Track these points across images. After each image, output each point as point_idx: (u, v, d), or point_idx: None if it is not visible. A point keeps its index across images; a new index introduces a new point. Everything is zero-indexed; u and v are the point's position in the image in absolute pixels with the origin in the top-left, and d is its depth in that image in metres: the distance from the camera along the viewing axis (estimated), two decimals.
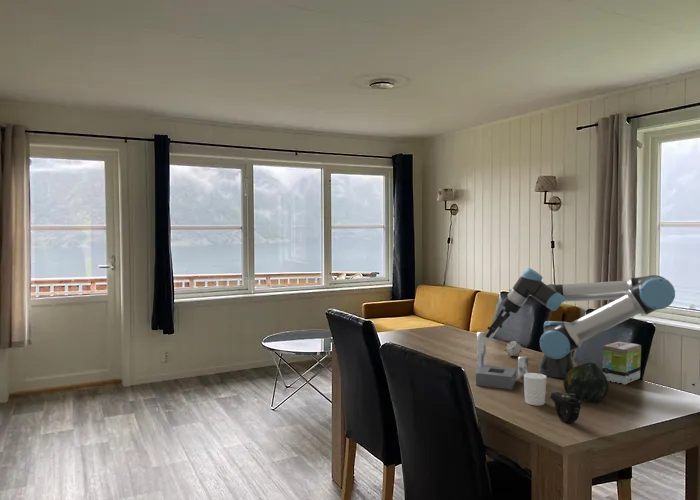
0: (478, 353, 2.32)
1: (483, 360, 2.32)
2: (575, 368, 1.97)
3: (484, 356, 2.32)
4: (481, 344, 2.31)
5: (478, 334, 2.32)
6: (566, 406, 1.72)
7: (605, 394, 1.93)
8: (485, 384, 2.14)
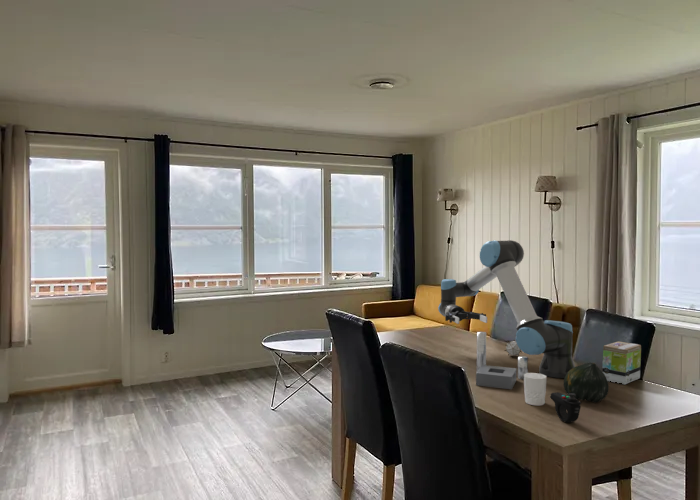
0: (478, 353, 2.32)
1: (483, 360, 2.32)
2: (575, 368, 1.97)
3: (484, 356, 2.32)
4: (481, 344, 2.31)
5: (478, 334, 2.32)
6: (566, 406, 1.72)
7: (605, 394, 1.93)
8: (485, 384, 2.14)
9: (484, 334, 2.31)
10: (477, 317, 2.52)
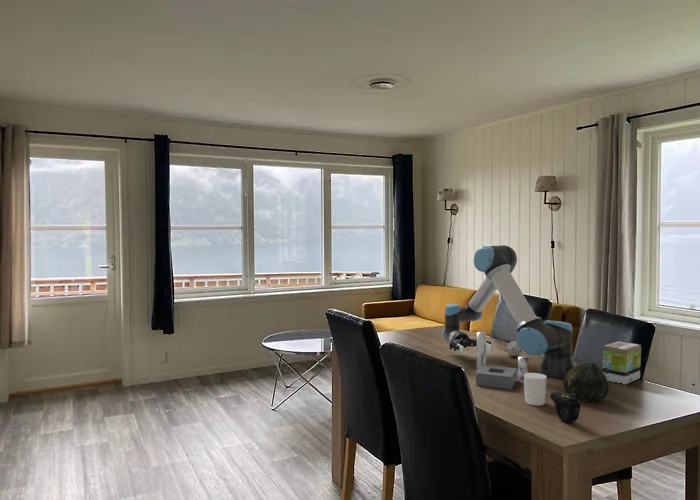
0: (478, 353, 2.32)
1: (483, 360, 2.32)
2: (575, 368, 1.97)
3: (484, 356, 2.32)
4: (481, 344, 2.31)
5: (478, 334, 2.32)
6: (566, 406, 1.72)
7: (605, 394, 1.93)
8: (485, 384, 2.14)
9: (484, 334, 2.31)
10: None
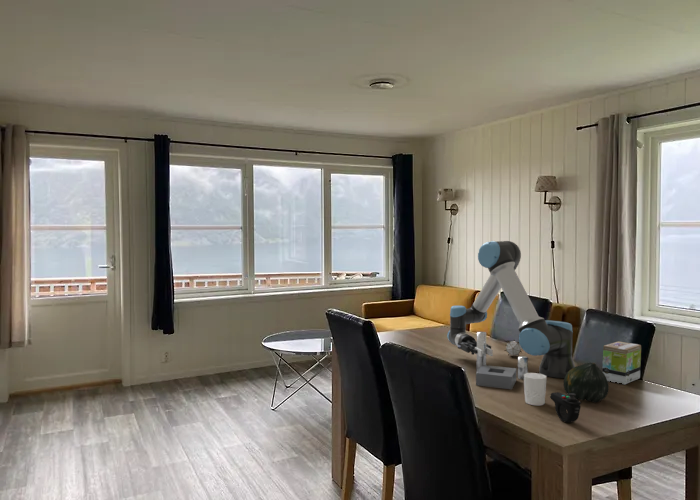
0: None
1: (483, 360, 2.32)
2: (575, 368, 1.97)
3: (484, 356, 2.32)
4: (481, 344, 2.31)
5: (478, 334, 2.32)
6: (566, 406, 1.72)
7: (605, 394, 1.93)
8: (485, 384, 2.14)
9: (484, 334, 2.31)
10: None
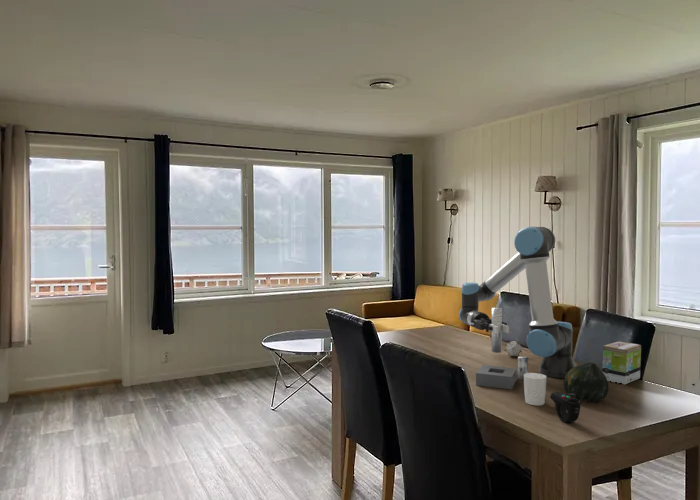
0: None
1: (498, 337, 2.17)
2: (575, 368, 1.97)
3: (500, 333, 2.17)
4: (496, 320, 2.16)
5: (493, 310, 2.17)
6: (566, 406, 1.72)
7: (605, 394, 1.93)
8: (485, 384, 2.14)
9: (500, 310, 2.16)
10: None
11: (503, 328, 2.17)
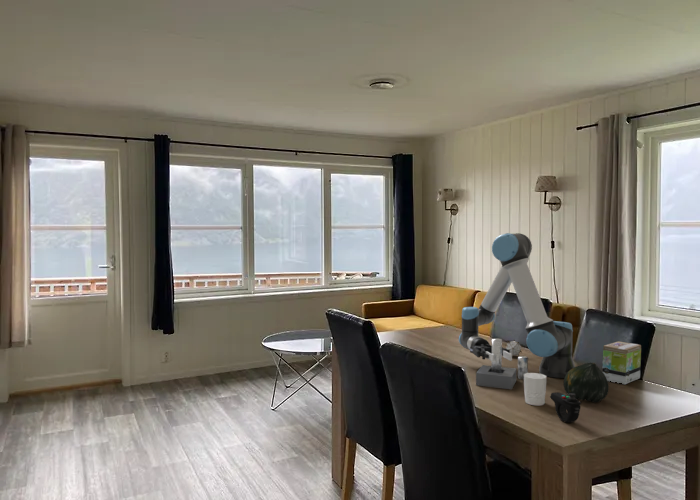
0: (493, 362, 2.18)
1: (498, 369, 2.17)
2: (575, 368, 1.97)
3: (500, 365, 2.17)
4: (496, 352, 2.17)
5: (493, 341, 2.17)
6: (566, 406, 1.72)
7: (605, 394, 1.93)
8: (485, 384, 2.14)
9: (500, 341, 2.17)
10: None
11: (506, 355, 2.17)
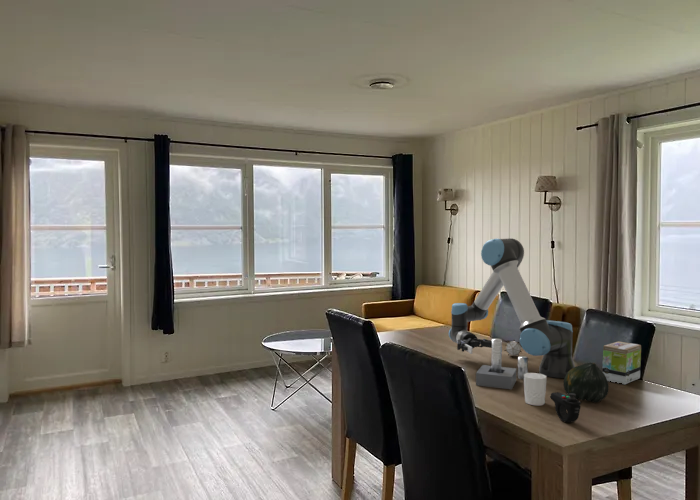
0: (492, 362, 2.18)
1: (498, 369, 2.17)
2: (575, 368, 1.97)
3: (499, 365, 2.17)
4: (496, 352, 2.17)
5: (493, 341, 2.17)
6: (566, 406, 1.72)
7: (605, 394, 1.93)
8: (485, 384, 2.14)
9: (500, 341, 2.17)
10: (491, 345, 2.37)
11: None
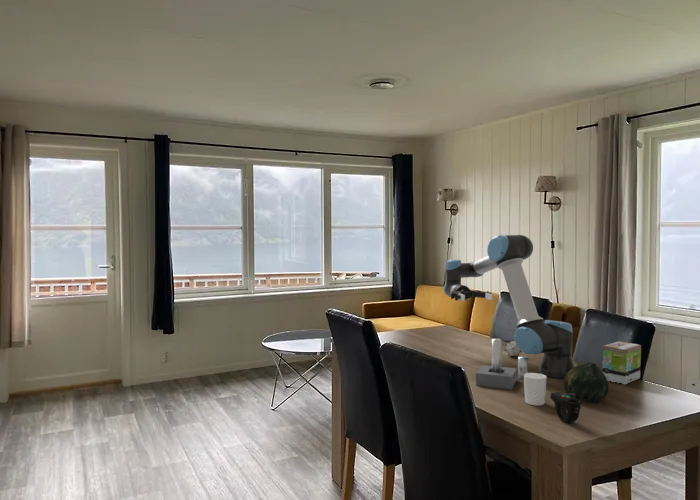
0: (492, 362, 2.18)
1: (498, 369, 2.17)
2: (575, 368, 1.97)
3: (499, 365, 2.17)
4: (496, 352, 2.17)
5: (493, 341, 2.17)
6: (566, 406, 1.72)
7: (605, 394, 1.93)
8: (485, 384, 2.14)
9: (500, 341, 2.17)
10: (483, 295, 2.52)
11: (488, 296, 2.47)
